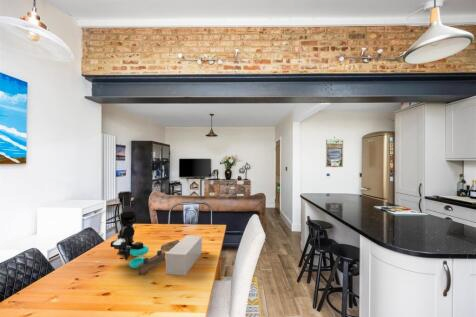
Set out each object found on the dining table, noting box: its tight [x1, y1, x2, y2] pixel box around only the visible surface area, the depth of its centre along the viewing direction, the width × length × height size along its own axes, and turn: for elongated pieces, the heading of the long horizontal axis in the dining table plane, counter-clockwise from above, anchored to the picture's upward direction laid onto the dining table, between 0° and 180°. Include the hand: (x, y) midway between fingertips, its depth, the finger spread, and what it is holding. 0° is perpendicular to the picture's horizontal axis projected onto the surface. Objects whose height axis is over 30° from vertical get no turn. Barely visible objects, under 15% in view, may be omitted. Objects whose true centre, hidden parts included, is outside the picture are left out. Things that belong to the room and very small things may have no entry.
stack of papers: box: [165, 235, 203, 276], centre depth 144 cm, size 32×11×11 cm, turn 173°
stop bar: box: [137, 249, 166, 276], centre depth 136 cm, size 3×20×7 cm, turn 163°
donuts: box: [128, 244, 150, 269], centre depth 138 cm, size 10×10×10 cm
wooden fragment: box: [160, 239, 181, 253], centre depth 172 cm, size 26×11×1 cm, turn 166°
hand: (126, 259), depth 140 cm, fingers closed
